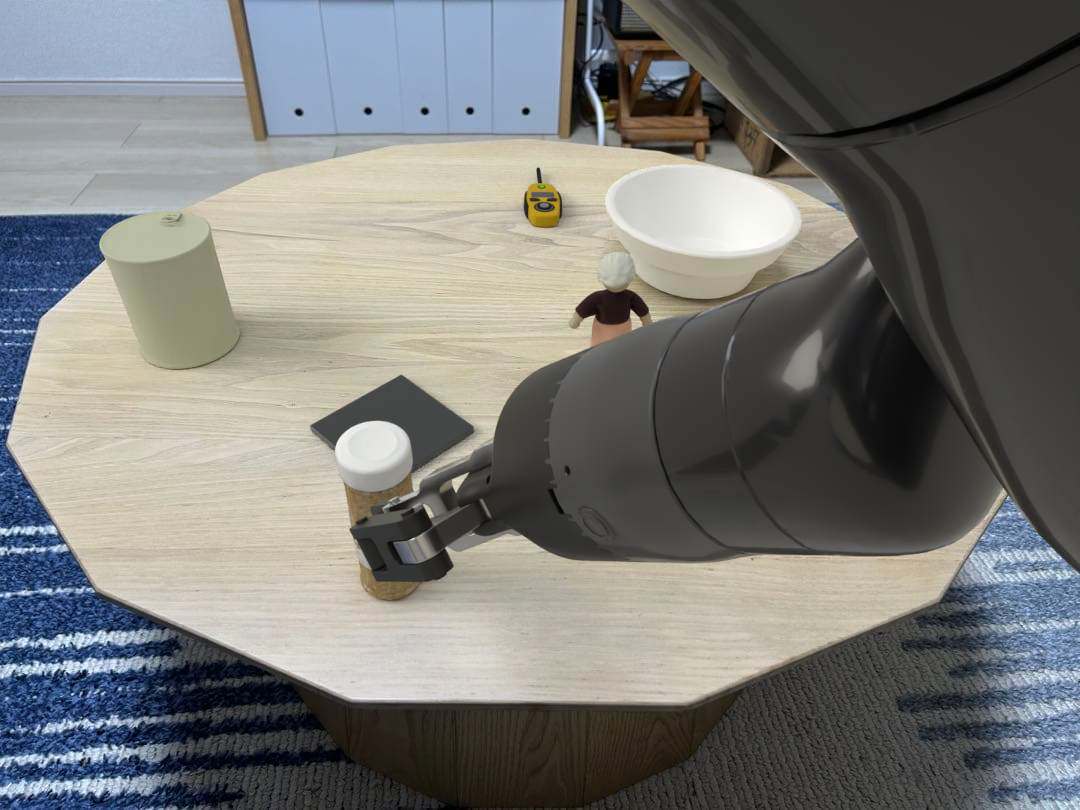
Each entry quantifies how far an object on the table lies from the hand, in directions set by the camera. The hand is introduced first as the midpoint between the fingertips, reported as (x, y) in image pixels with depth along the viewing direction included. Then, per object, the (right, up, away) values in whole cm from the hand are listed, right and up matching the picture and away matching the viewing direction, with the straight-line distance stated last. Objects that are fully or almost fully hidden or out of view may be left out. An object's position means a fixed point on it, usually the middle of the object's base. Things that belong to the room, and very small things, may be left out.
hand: (456, 482), depth 39 cm
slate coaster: (-8, +2, +27) cm, 29 cm away
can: (-30, +10, +36) cm, 48 cm away
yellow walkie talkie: (+4, +31, +61) cm, 68 cm away
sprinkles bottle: (-6, -9, +16) cm, 20 cm away
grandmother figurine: (+10, +7, +35) cm, 37 cm away
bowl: (+22, +19, +49) cm, 57 cm away
